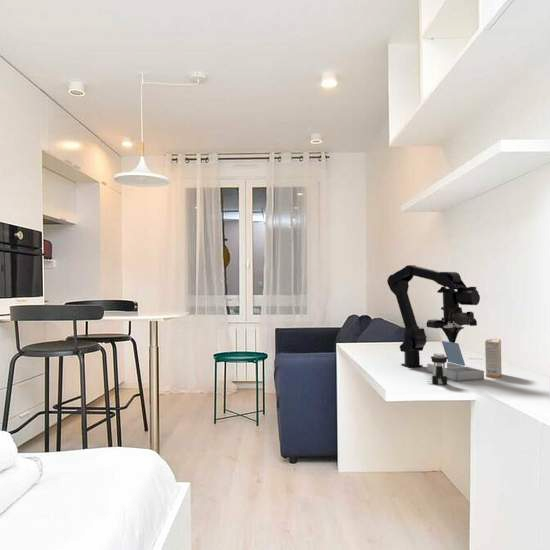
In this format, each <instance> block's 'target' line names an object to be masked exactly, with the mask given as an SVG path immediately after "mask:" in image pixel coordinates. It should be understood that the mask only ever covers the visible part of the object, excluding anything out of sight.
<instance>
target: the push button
mask: <svg viewBox="0 0 550 550" xmlns="http://www.w3.org/2000/svg"><path fill="white" fill-rule="evenodd" d="M430 358H431V362H432V363H433V365H434V373H432V375H431V378H430V380H431V381H429V380H428V381H426V382H427V383H432V384H433V385H448V379H447V377H446V376H443V375H446V374H445V368H446V364H447V363H448V360H447V356H446V353H433V355H432V356H430ZM442 367H443V370H442Z"/></svg>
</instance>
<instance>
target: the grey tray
mask: <svg viewBox="0 0 550 550" xmlns="http://www.w3.org/2000/svg"><path fill="white" fill-rule="evenodd" d="M426 365H427V368H426V370H427V372H428V373H431V374H433V373H434V364H431V363H427V364H426ZM442 370H443V366H442ZM445 374H446V375H443V376H446V377H447V380H451V381H454V382H465V381H466V382H467V381H477V380H478V381H480V380H485V371H484V370H481V369H478V368H474V367H470V366H462V365H458V364H454V363H451V362H446V367H445Z"/></svg>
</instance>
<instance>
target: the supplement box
mask: <svg viewBox="0 0 550 550" xmlns="http://www.w3.org/2000/svg"><path fill="white" fill-rule="evenodd" d="M484 343H485V347H484V348H485V350H484V351H485V352H484V353H485V355H484V356H485V376H486V377H487V378H496V379H499V378H501V376H502V340H501V339H500V338H499V339H497V338H487V339H486V340H485V341H484Z"/></svg>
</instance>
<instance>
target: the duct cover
mask: <svg viewBox="0 0 550 550" xmlns="http://www.w3.org/2000/svg"><path fill="white" fill-rule="evenodd" d="M441 344H442V347H443V351H444V354H445V357H447V363H453V364H456V365H460V366H464V367H466V363H465V360H464V357H463V353H462V351H461V348H460V345H459V342H458V343H457V342H455V343H454V342H449V340H441Z"/></svg>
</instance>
